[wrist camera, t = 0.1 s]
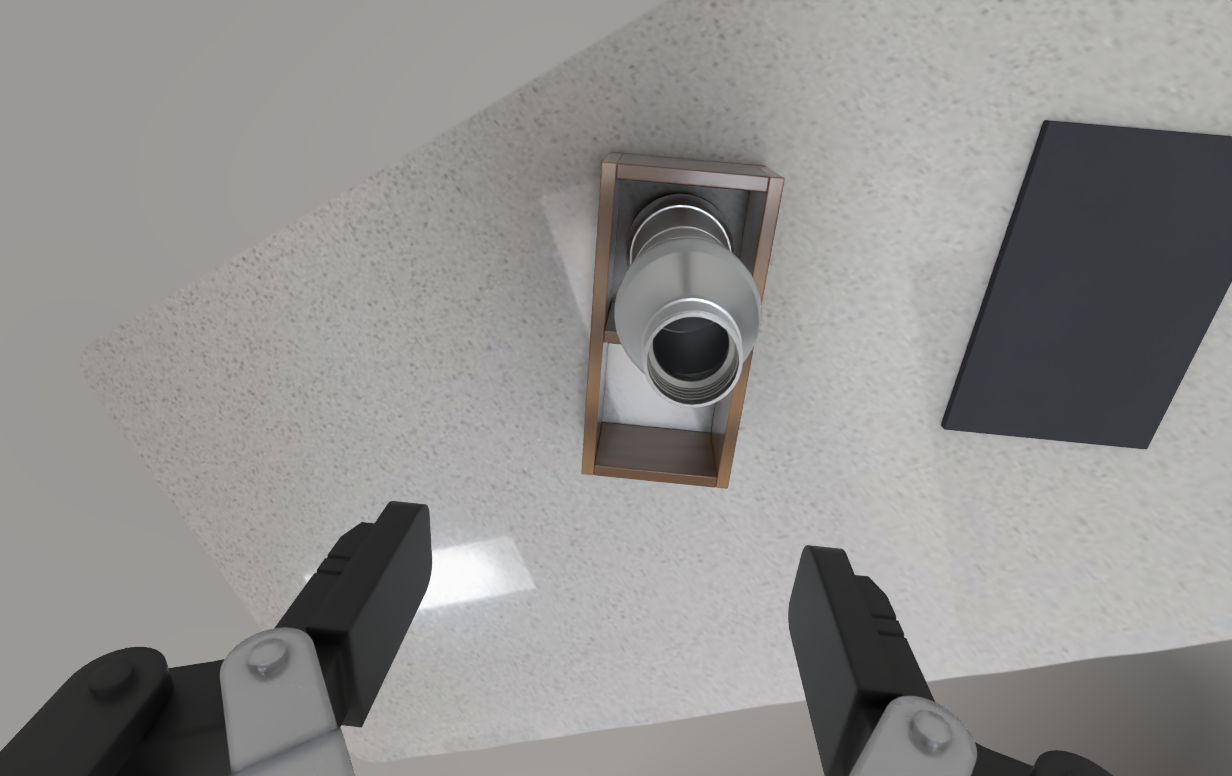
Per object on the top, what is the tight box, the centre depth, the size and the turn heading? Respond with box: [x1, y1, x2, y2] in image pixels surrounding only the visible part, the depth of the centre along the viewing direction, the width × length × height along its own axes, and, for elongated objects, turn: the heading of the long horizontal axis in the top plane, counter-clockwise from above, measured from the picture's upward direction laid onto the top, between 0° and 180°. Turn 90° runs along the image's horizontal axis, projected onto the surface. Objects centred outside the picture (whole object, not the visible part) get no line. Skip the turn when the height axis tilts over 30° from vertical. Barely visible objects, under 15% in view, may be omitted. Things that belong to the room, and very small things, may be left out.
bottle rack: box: [581, 153, 785, 489], centre depth 40 cm, size 19×10×6 cm, turn 176°
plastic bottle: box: [614, 194, 762, 408], centre depth 31 cm, size 6×7×20 cm
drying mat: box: [941, 121, 1232, 449], centre depth 40 cm, size 20×14×1 cm
